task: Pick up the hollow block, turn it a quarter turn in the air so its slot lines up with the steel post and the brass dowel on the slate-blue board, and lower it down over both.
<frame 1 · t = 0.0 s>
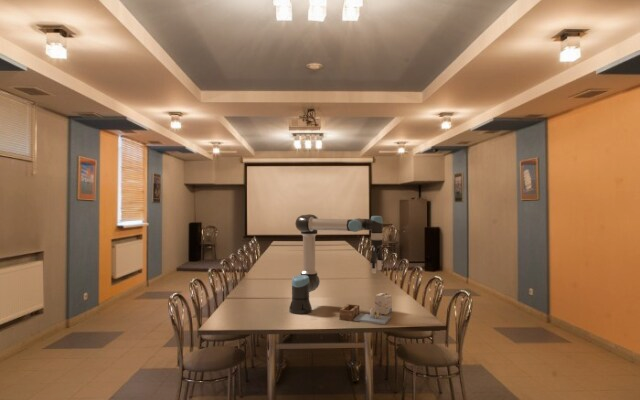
hand: (376, 271, 279), 28 cm above the table, fingers open, 13 cm apart
post board: (372, 319, 266), on the table
ink box: (383, 312, 284), on the table
hollow block: (349, 317, 272), on the table
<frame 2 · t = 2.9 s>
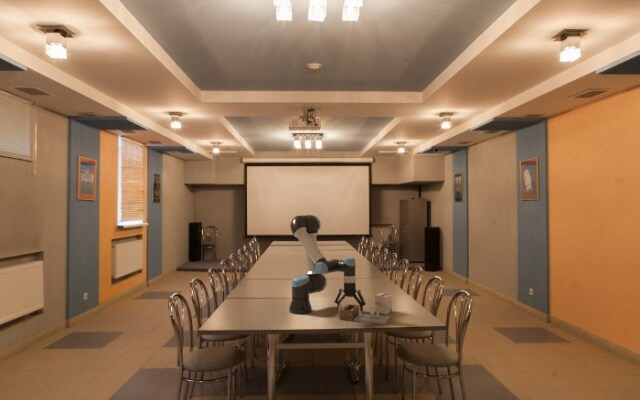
hand: (350, 315, 272), 1 cm above the table, fingers open, 13 cm apart
nothing on the table moved.
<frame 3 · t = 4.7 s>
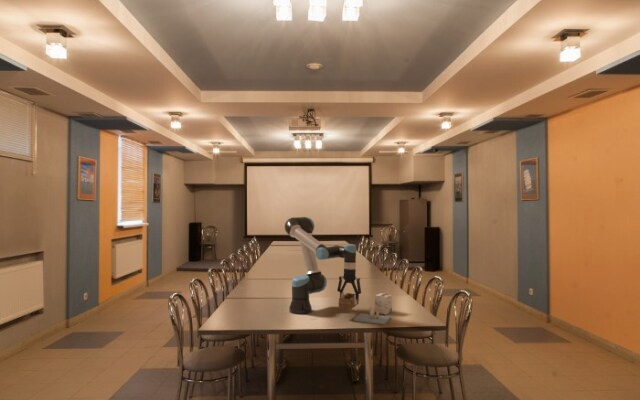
hand: (348, 303, 273), 9 cm above the table, fingers closed on hollow block, 8 cm apart
hollow block: (348, 305, 273), point 7 cm above the table, touching gripper
everything else where it was.
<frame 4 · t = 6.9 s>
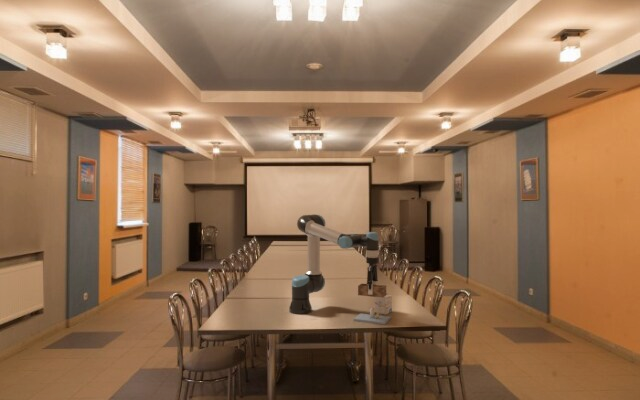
hand: (372, 293, 266), 17 cm above the table, fingers closed on hollow block, 8 cm apart
hollow block: (372, 295, 266), point 15 cm above the table, touching gripper
everything else where it was.
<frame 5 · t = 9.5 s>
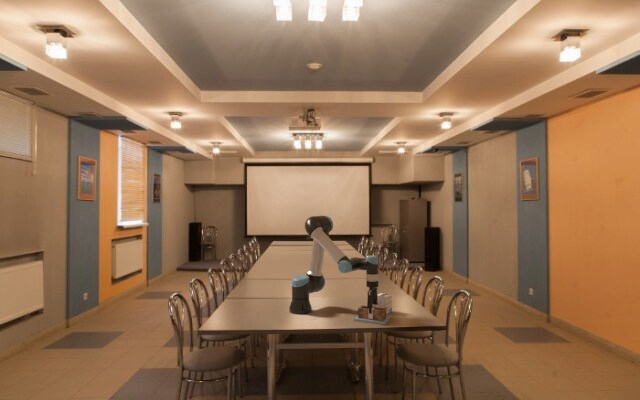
hand: (372, 316, 266), 2 cm above the table, fingers closed on hollow block, 8 cm apart
hollow block: (372, 317, 266), point 1 cm above the table, touching gripper, post board
everything else where it was.
when the fingers open (2 cm above the table, at t = 10.1 s): hollow block stays where it is, resting on post board.
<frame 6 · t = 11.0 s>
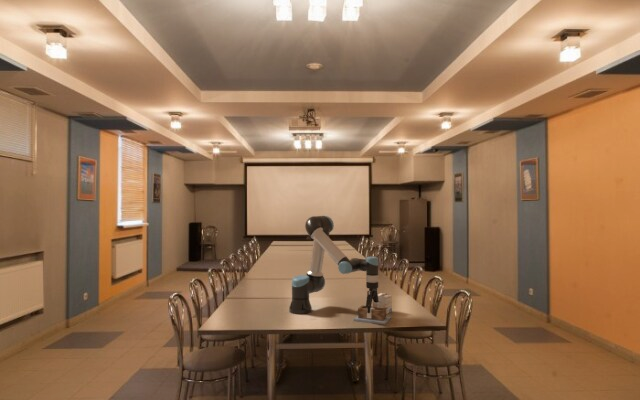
hand: (372, 315, 266), 3 cm above the table, fingers open, 13 cm apart
hollow block: (372, 317, 266), point 1 cm above the table, touching post board
everything else where it was.
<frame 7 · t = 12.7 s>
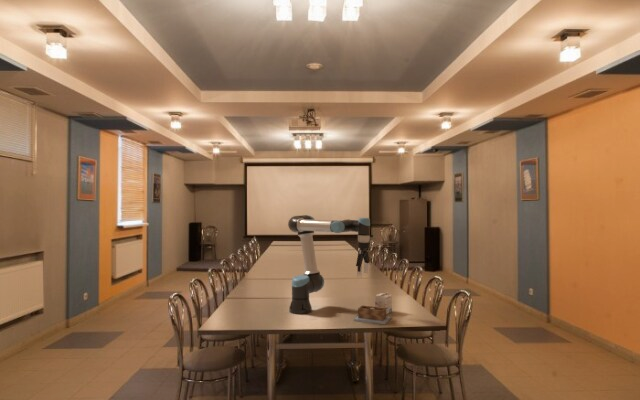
hand: (362, 274, 272), 27 cm above the table, fingers open, 13 cm apart
nothing on the table moved.
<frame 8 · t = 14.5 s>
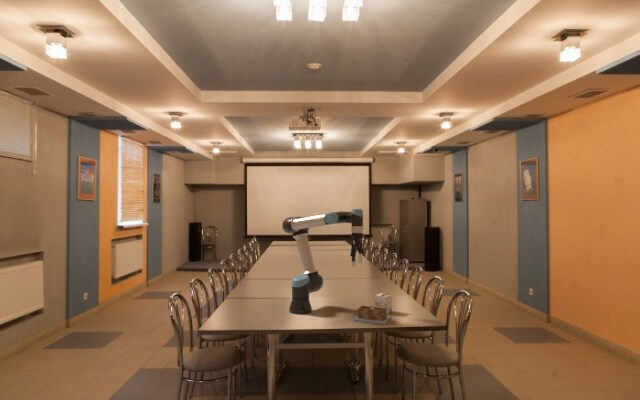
hand: (357, 265, 276), 33 cm above the table, fingers open, 13 cm apart
nothing on the table moved.
at the end: hollow block 0.0 cm off-centre on the post board, point 1.2 cm above the post board's base; hollow block tilted 0°; the gripper is holding nothing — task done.
